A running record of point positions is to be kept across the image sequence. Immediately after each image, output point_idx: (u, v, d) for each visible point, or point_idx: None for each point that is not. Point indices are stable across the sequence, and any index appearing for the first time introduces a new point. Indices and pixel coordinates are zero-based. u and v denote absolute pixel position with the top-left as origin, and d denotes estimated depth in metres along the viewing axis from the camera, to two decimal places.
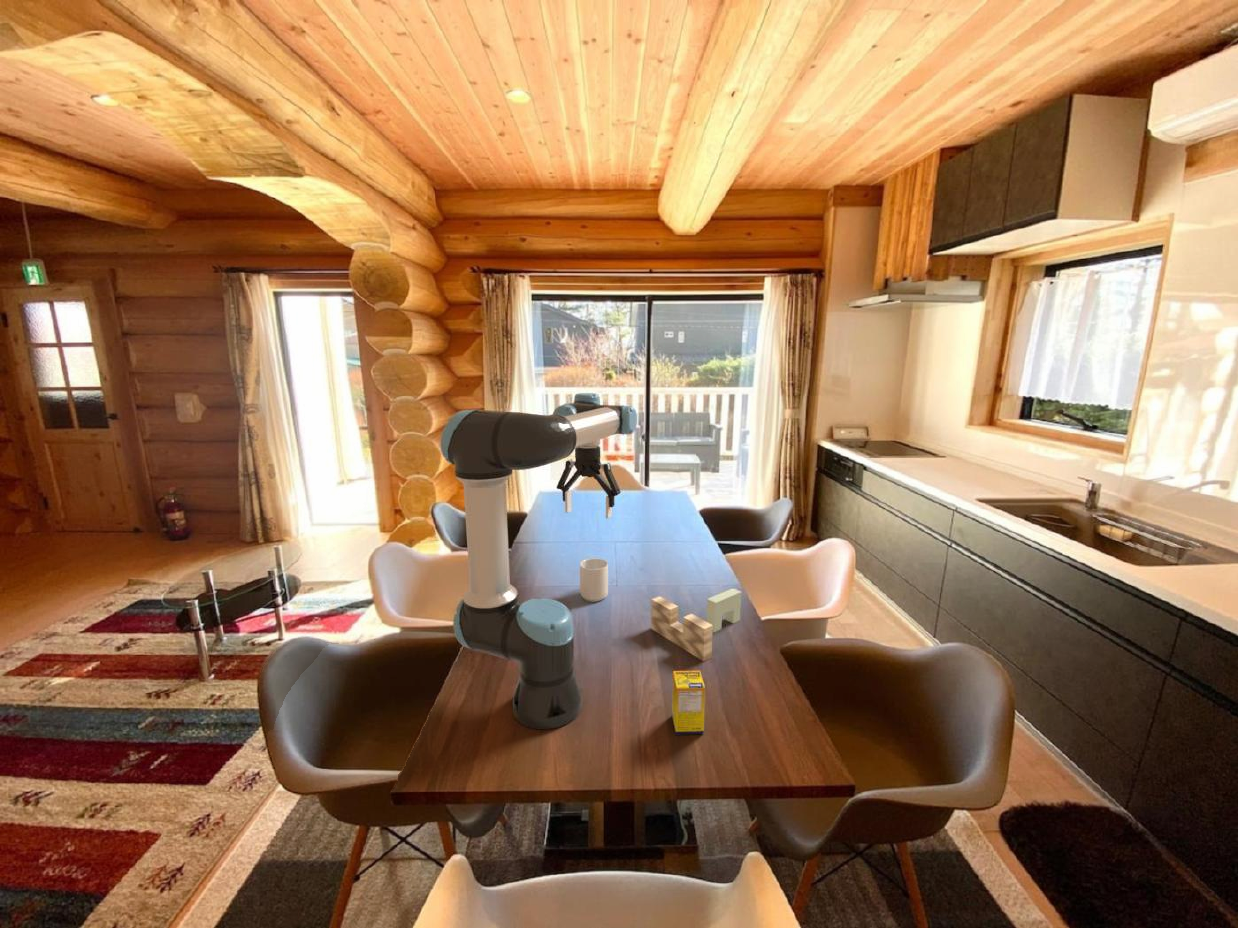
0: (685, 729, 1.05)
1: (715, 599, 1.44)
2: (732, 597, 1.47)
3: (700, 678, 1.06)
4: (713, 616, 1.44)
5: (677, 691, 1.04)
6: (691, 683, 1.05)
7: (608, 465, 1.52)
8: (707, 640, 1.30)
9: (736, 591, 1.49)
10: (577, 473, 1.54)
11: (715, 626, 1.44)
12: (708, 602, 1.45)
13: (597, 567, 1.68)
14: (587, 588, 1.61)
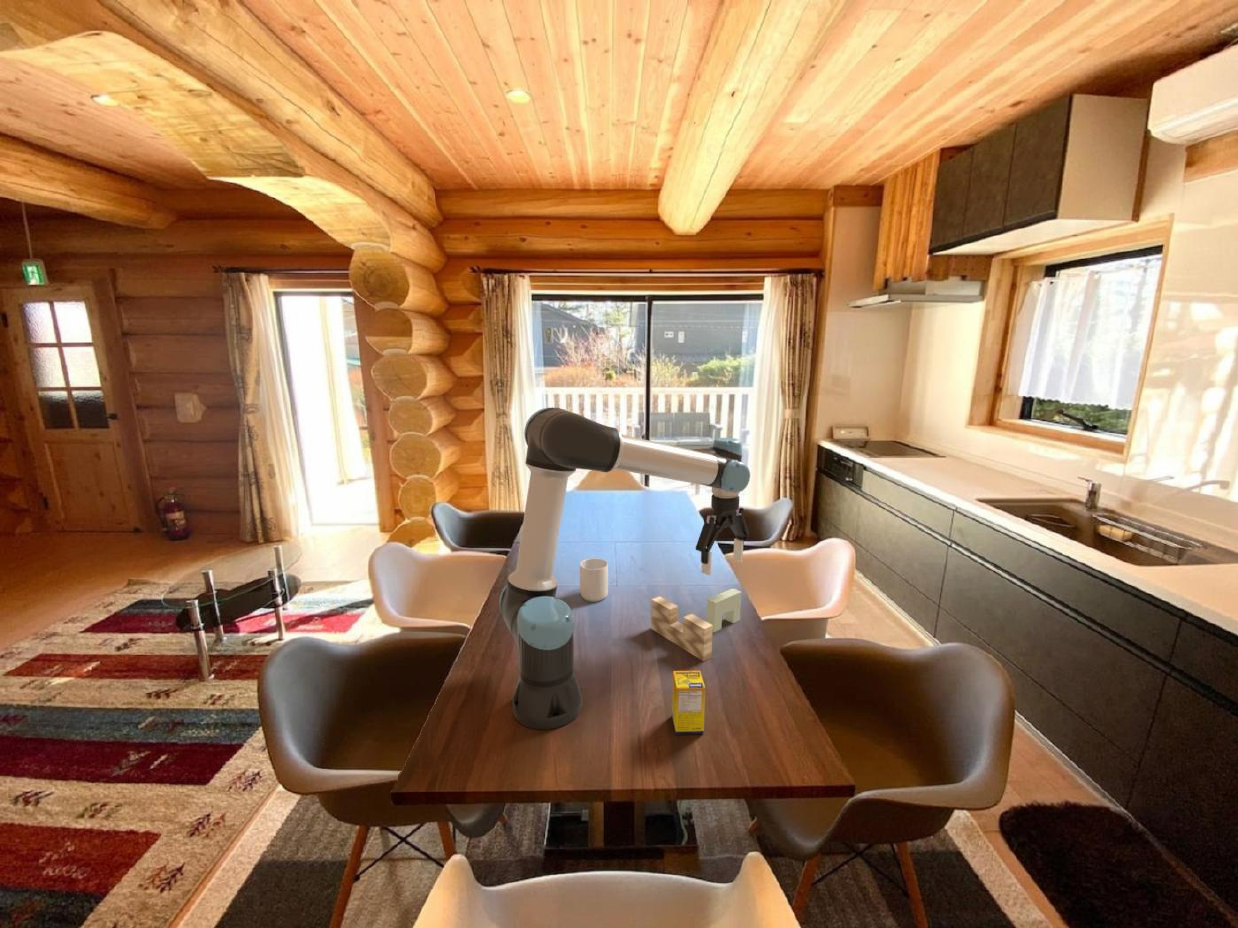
0: (685, 729, 1.05)
1: (715, 599, 1.44)
2: (732, 597, 1.47)
3: (700, 678, 1.06)
4: (713, 616, 1.44)
5: (677, 691, 1.04)
6: (691, 683, 1.05)
7: (708, 518, 1.38)
8: (707, 640, 1.30)
9: (736, 591, 1.49)
10: None
11: (715, 626, 1.44)
12: (708, 602, 1.45)
13: (597, 567, 1.68)
14: (587, 589, 1.61)
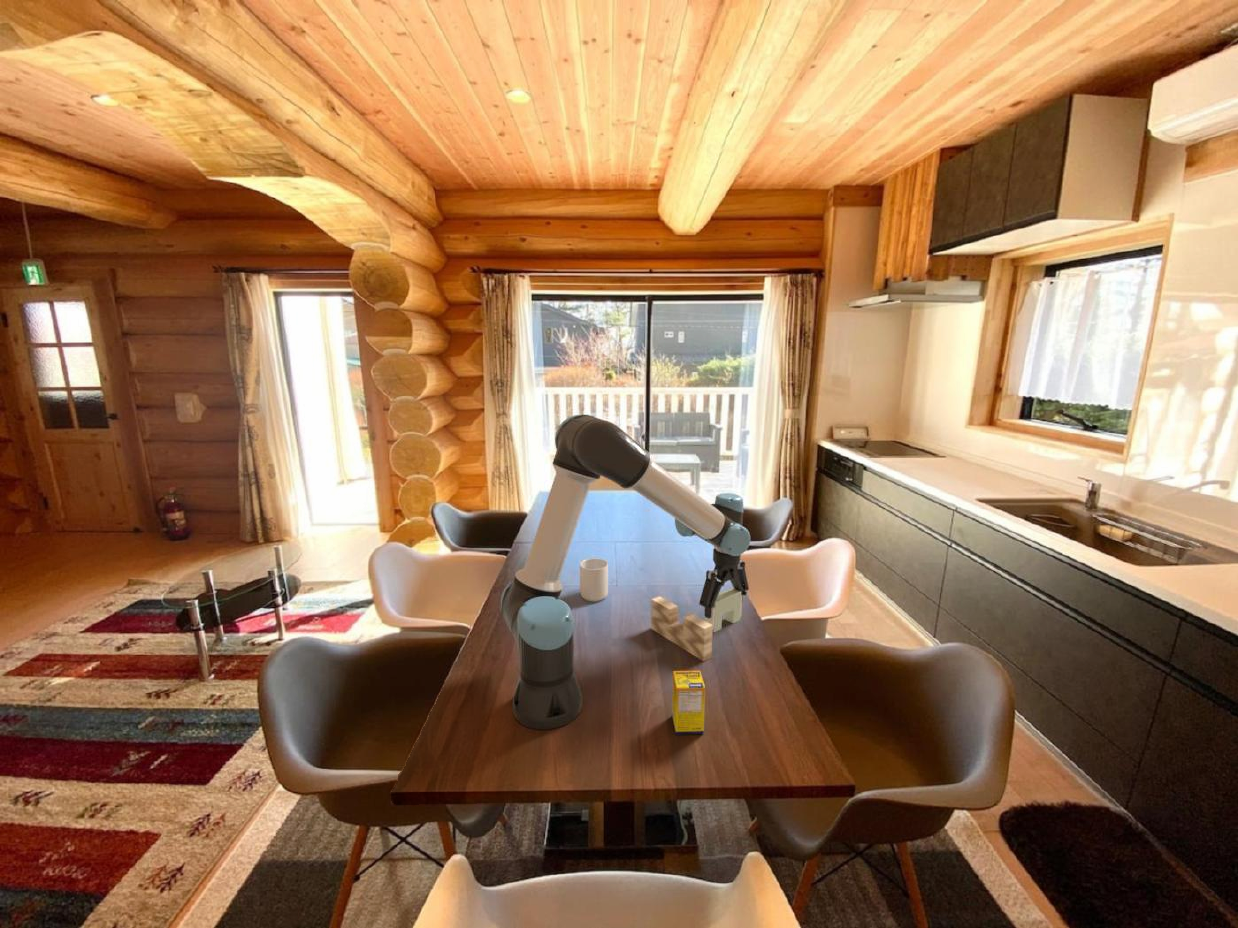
0: (685, 729, 1.05)
1: None
2: (732, 597, 1.47)
3: (700, 678, 1.06)
4: None
5: (677, 691, 1.04)
6: (691, 683, 1.05)
7: (709, 574, 1.41)
8: (707, 640, 1.30)
9: (736, 591, 1.49)
10: None
11: (715, 626, 1.44)
12: None
13: (597, 567, 1.68)
14: (587, 589, 1.61)
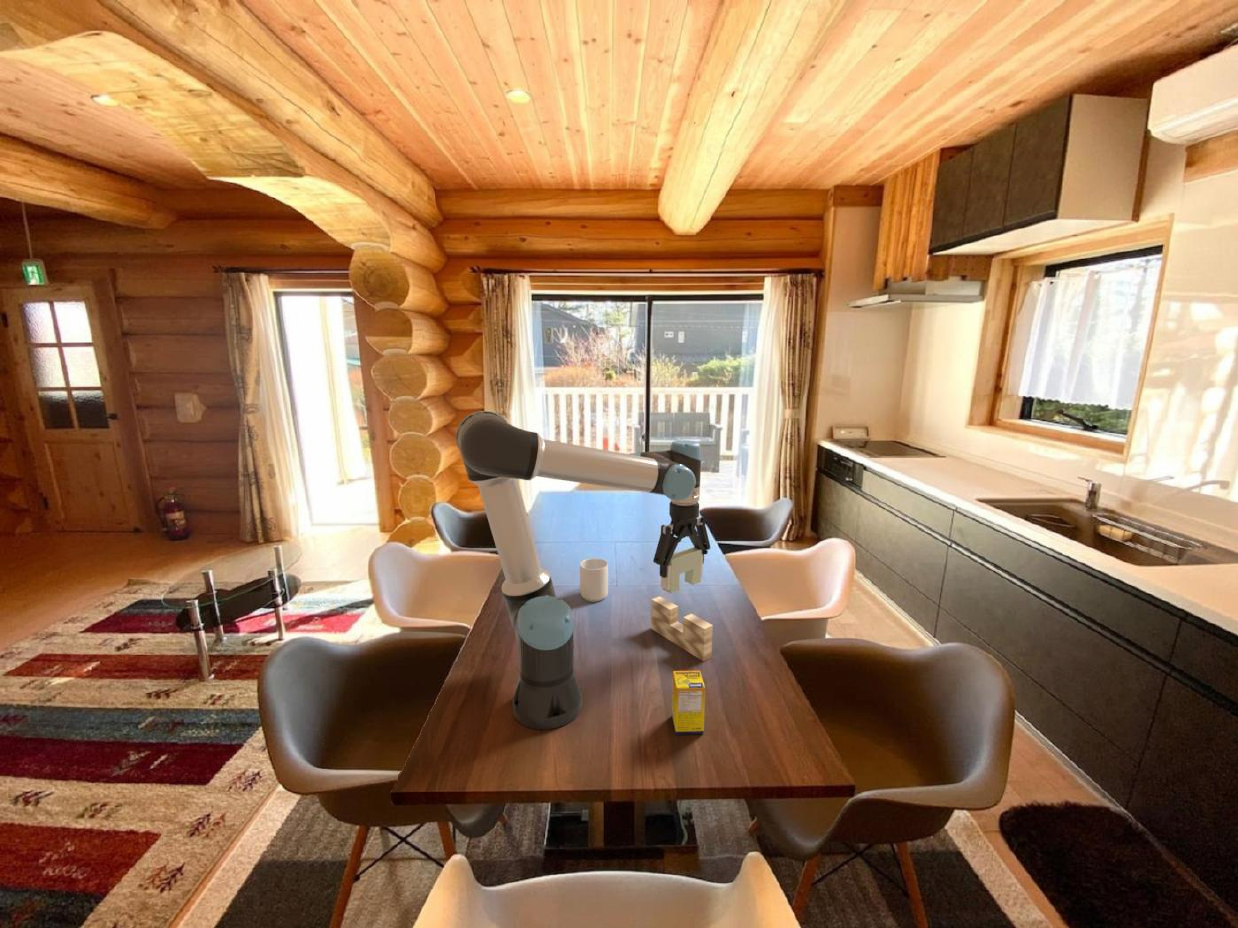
0: (685, 729, 1.05)
1: None
2: (691, 555, 1.34)
3: (700, 678, 1.06)
4: None
5: (677, 691, 1.04)
6: (691, 683, 1.05)
7: (664, 528, 1.28)
8: (707, 640, 1.30)
9: (696, 550, 1.37)
10: None
11: (671, 586, 1.31)
12: None
13: (597, 567, 1.68)
14: (587, 589, 1.61)
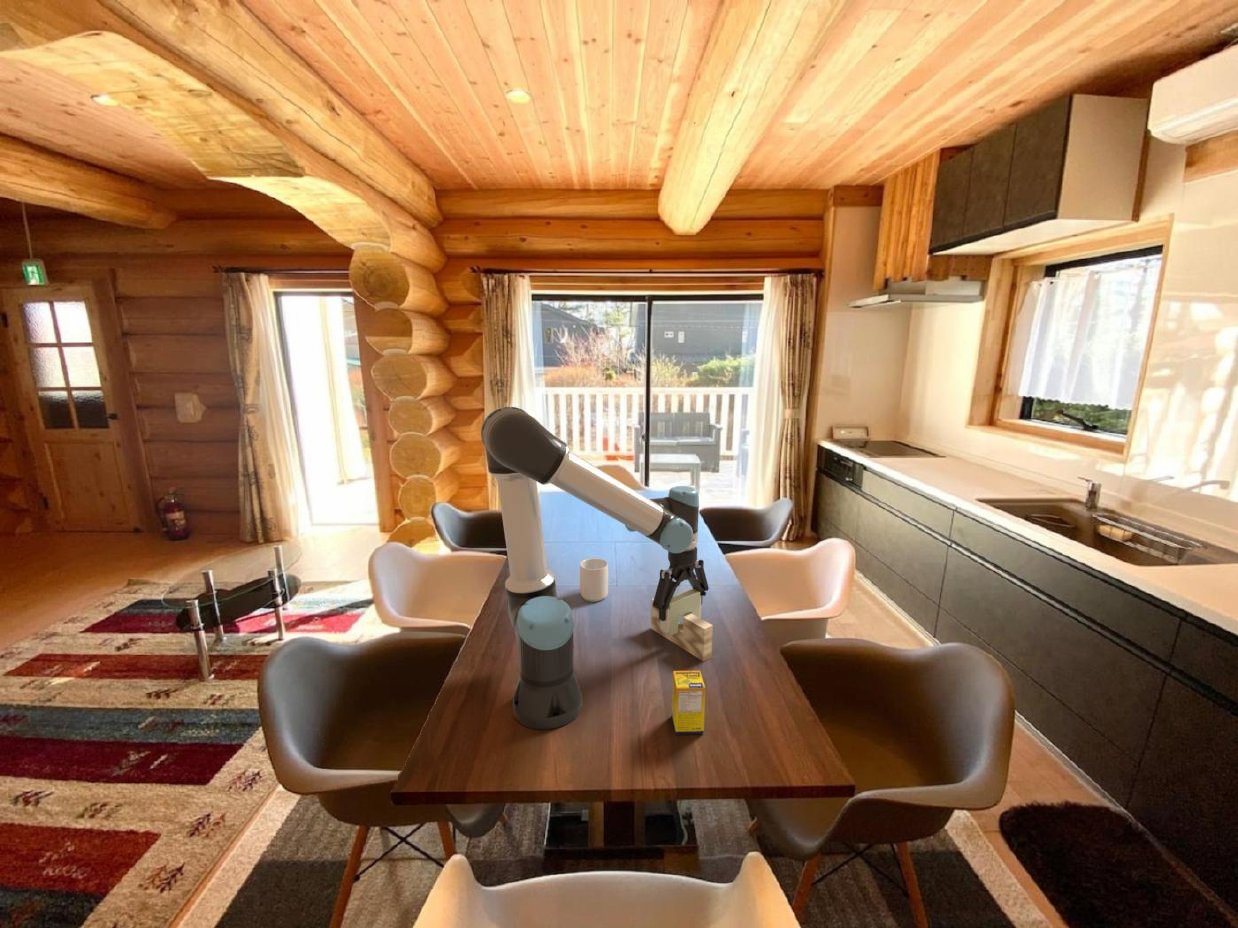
0: (685, 729, 1.05)
1: None
2: (690, 598, 1.37)
3: (700, 678, 1.06)
4: None
5: (677, 691, 1.04)
6: (691, 683, 1.05)
7: (663, 573, 1.31)
8: (707, 640, 1.30)
9: (694, 591, 1.39)
10: None
11: (670, 629, 1.34)
12: (663, 603, 1.34)
13: (597, 567, 1.68)
14: (587, 589, 1.61)
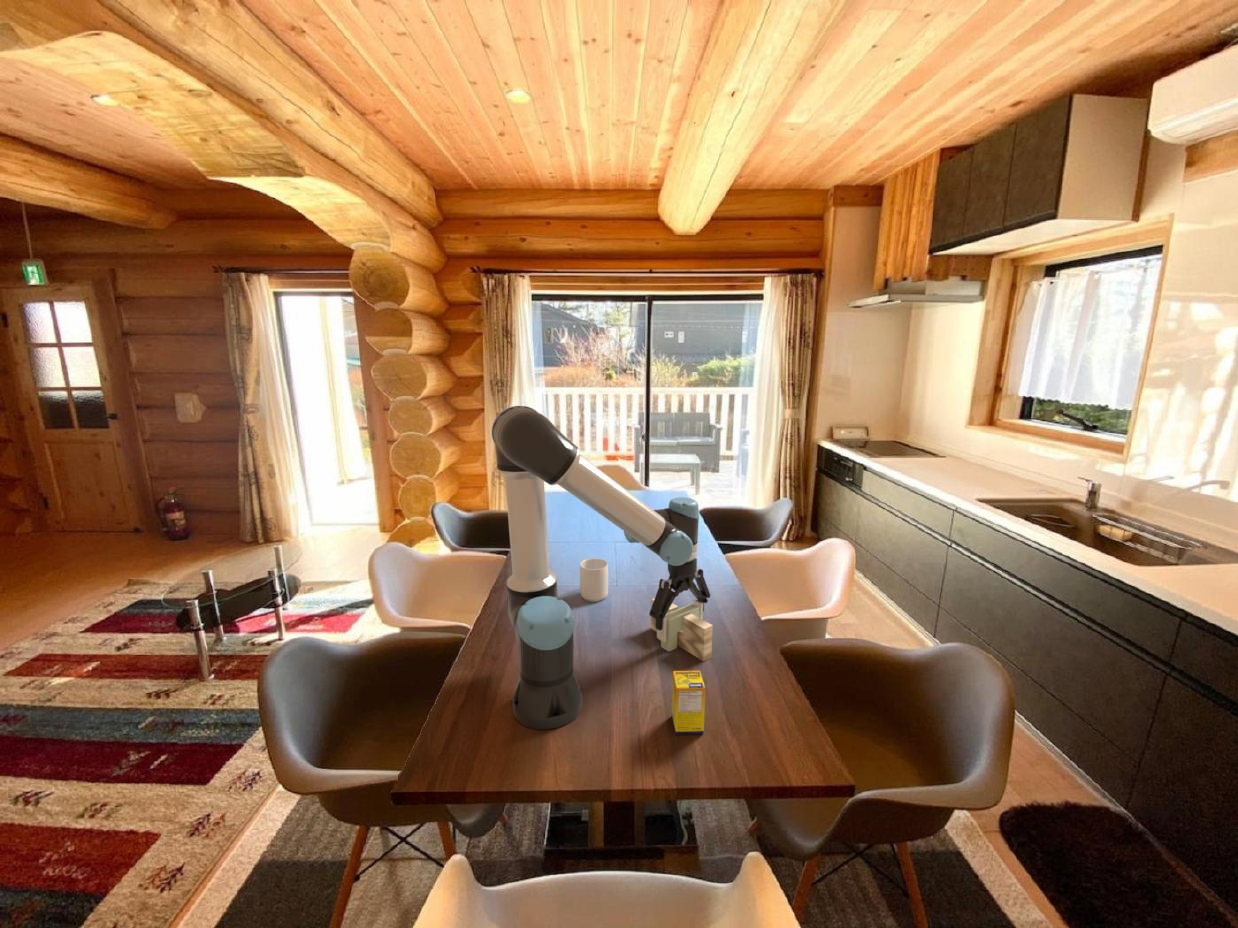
0: (685, 729, 1.05)
1: (669, 616, 1.35)
2: (689, 614, 1.38)
3: (700, 678, 1.06)
4: (667, 634, 1.34)
5: (677, 691, 1.04)
6: (691, 683, 1.05)
7: (662, 583, 1.31)
8: (707, 640, 1.30)
9: (694, 607, 1.40)
10: None
11: (669, 645, 1.35)
12: None
13: (597, 567, 1.68)
14: (587, 589, 1.61)
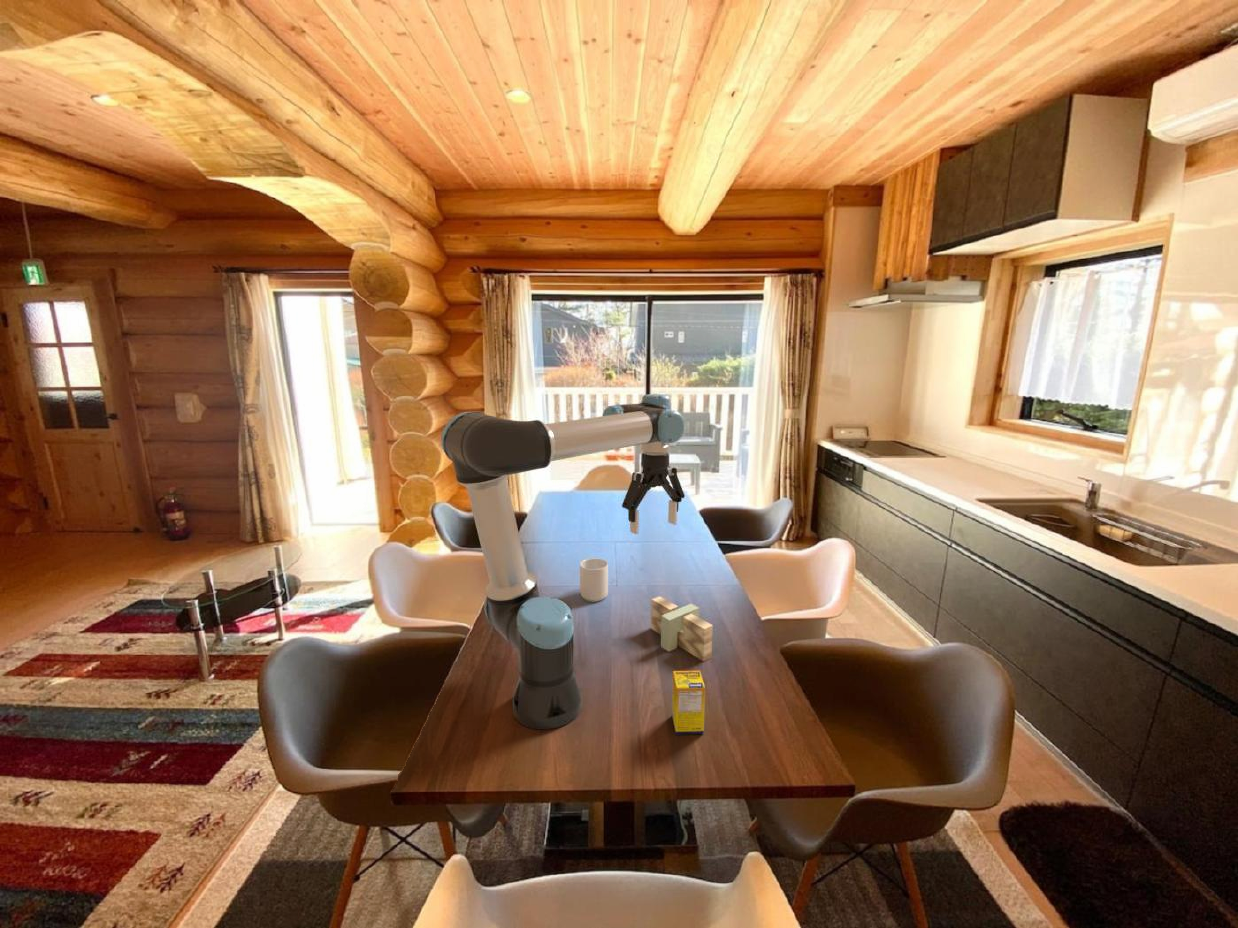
0: (685, 729, 1.05)
1: (669, 616, 1.35)
2: (689, 614, 1.38)
3: (700, 678, 1.06)
4: (667, 634, 1.34)
5: (677, 691, 1.04)
6: (691, 683, 1.05)
7: (635, 475, 1.36)
8: (707, 640, 1.30)
9: (694, 607, 1.40)
10: None
11: (669, 645, 1.35)
12: (662, 619, 1.35)
13: (597, 567, 1.68)
14: (587, 589, 1.61)
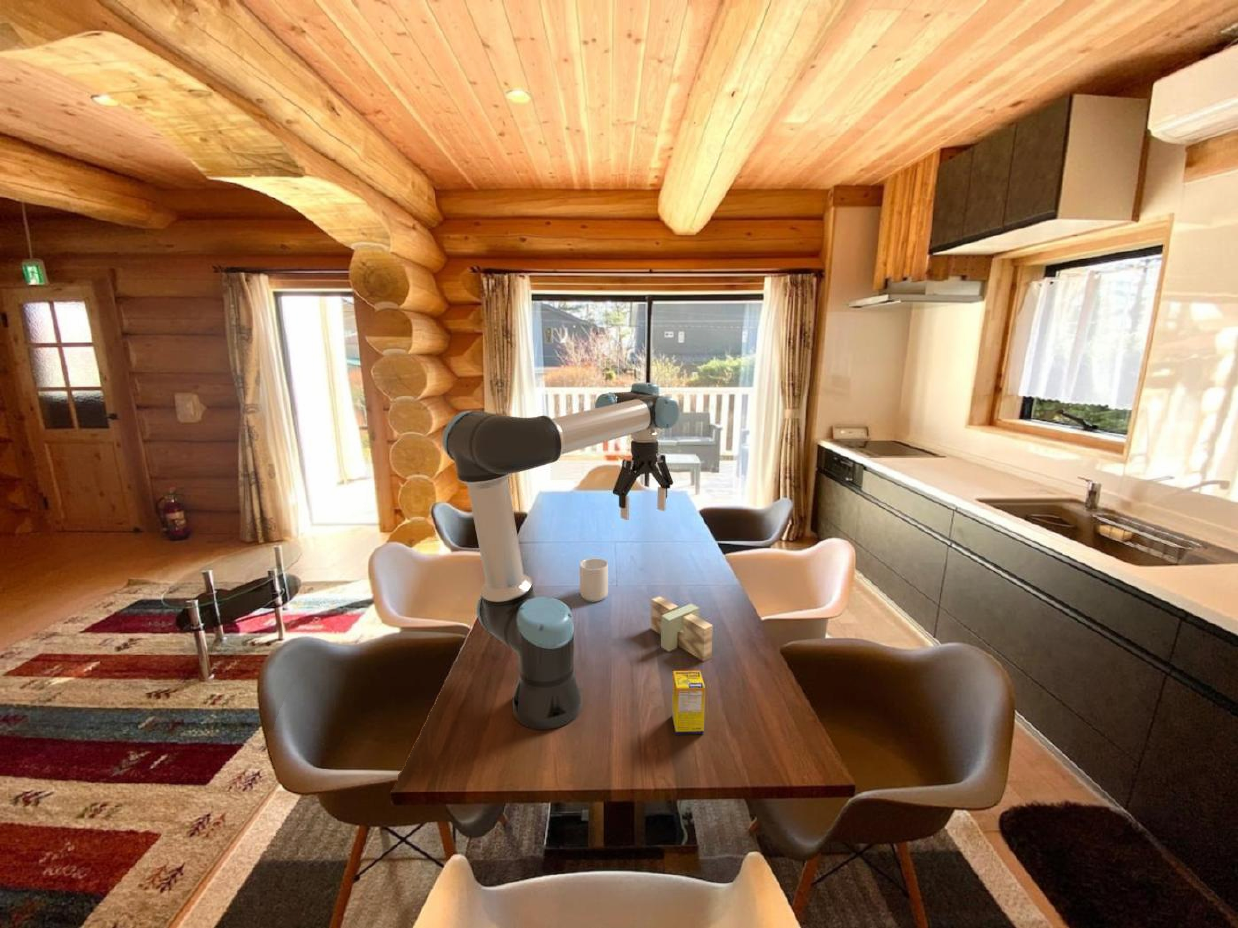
0: (685, 729, 1.05)
1: (669, 616, 1.35)
2: (689, 614, 1.38)
3: (700, 678, 1.06)
4: (667, 634, 1.34)
5: (677, 691, 1.04)
6: (691, 683, 1.05)
7: (625, 462, 1.39)
8: (707, 640, 1.30)
9: (694, 607, 1.40)
10: None
11: (669, 645, 1.35)
12: (662, 619, 1.35)
13: (597, 567, 1.68)
14: (587, 589, 1.61)
